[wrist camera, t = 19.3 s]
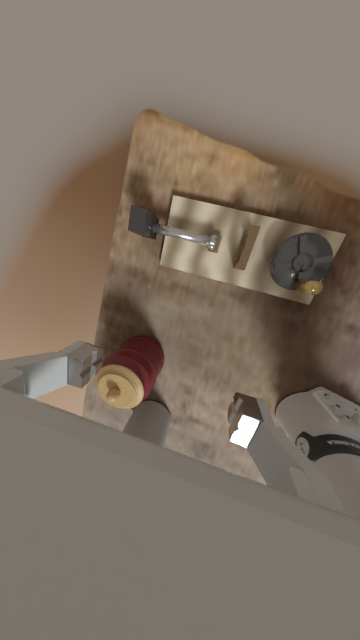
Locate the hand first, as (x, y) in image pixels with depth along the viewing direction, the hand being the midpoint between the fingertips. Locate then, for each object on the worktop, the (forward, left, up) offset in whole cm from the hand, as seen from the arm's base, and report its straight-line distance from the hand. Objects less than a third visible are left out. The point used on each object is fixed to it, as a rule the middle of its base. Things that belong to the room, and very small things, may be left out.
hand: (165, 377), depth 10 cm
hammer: (+8, -11, -31) cm, 34 cm away
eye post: (-6, -11, -32) cm, 34 cm away
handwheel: (-16, -11, -29) cm, 35 cm away
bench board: (-6, -11, -33) cm, 35 cm away
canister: (+11, +22, -33) cm, 41 cm away
